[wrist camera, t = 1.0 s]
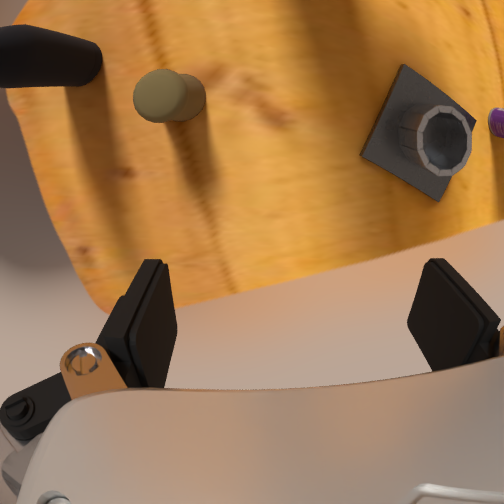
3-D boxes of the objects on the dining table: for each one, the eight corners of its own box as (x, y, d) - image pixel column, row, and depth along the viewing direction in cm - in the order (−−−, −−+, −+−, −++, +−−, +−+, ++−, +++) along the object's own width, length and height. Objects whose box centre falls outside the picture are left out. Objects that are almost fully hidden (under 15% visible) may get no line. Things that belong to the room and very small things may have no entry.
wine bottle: (74, 96, 32) (-127, 135, 6) (55, 62, 30) (-136, 72, 3) (110, 65, 31) (-96, 52, 4) (90, 31, 29) (-100, -6, 2)
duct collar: (400, 64, 31) (423, 60, 26) (472, 119, 34) (498, 125, 29) (359, 155, 37) (377, 164, 32) (435, 200, 40) (457, 214, 34)
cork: (216, 98, 34) (204, 95, 24) (178, 131, 36) (153, 142, 26) (183, 64, 32) (159, 49, 22) (146, 97, 33) (111, 97, 24)
